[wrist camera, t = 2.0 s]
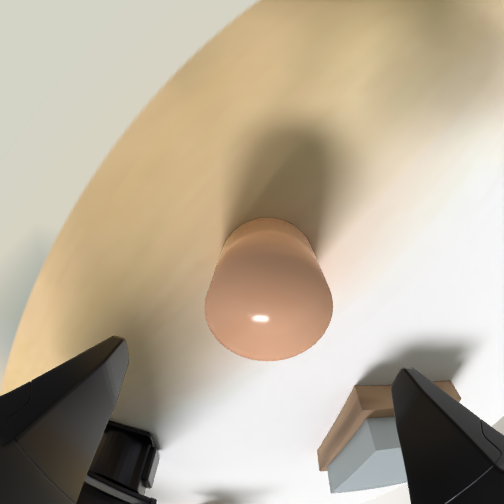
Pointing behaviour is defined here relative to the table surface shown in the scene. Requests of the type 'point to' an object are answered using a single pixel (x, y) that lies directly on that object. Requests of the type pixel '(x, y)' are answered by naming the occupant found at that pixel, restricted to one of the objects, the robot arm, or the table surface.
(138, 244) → the table surface
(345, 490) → the grey top slab
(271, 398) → the table surface
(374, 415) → the walnut base slab
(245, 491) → the table surface
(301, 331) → the peach domed cylinder
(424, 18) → the table surface
